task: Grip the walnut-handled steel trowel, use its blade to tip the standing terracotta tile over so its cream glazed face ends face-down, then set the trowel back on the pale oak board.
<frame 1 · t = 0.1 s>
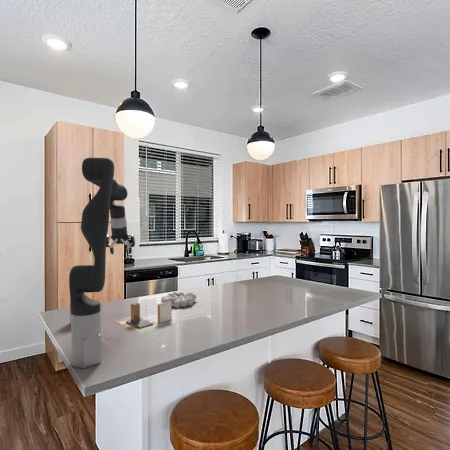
hand: (121, 253, 164), 31 cm above the worktop, tool tilted 20°, fingers open, 8 cm apart
trowel: (135, 322, 149), point 1 cm above the worktop, touching board
board: (136, 323, 148), on the worktop
campfire: (179, 304, 185), on the worktop
tile: (164, 321, 151), on the worktop
soda can: (78, 322, 150), on the worktop
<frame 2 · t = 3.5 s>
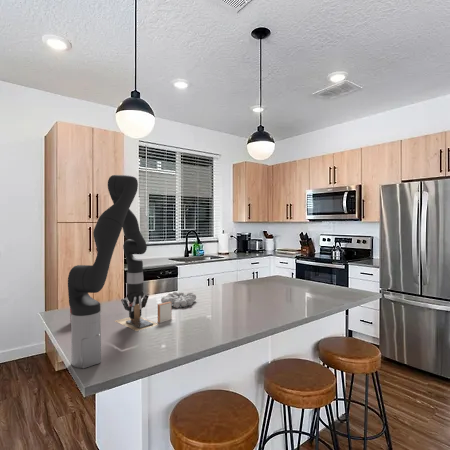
hand: (135, 317, 149), 3 cm above the worktop, tool pointing down, fingers closed on trowel, 3 cm apart
trowel: (135, 322, 149), point 1 cm above the worktop, touching board, gripper
everything else where it was.
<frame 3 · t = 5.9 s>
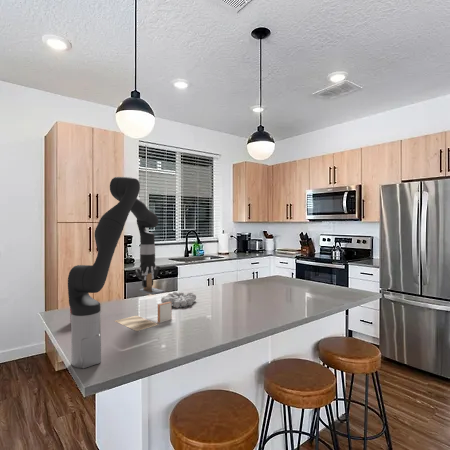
hand: (147, 286, 161), 15 cm above the worktop, tool pointing down, fingers closed on trowel, 3 cm apart
trowel: (147, 290, 161), point 13 cm above the worktop, touching gripper
everything else where it was.
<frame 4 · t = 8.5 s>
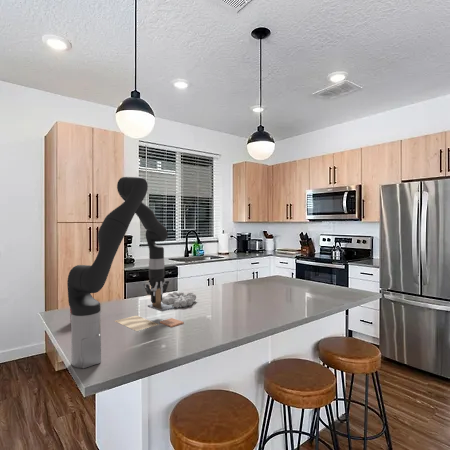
hand: (156, 302, 155), 8 cm above the worktop, tool pointing down, fingers closed on trowel, 3 cm apart
trowel: (156, 306, 155), point 6 cm above the worktop, touching gripper
tile: (165, 321, 151), on the worktop, tilted 90°
everything else where it was.
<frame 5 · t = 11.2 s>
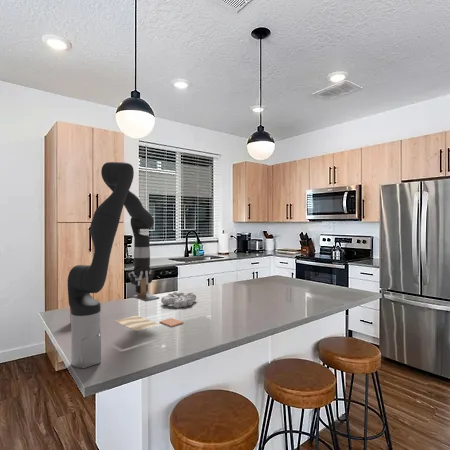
hand: (141, 292, 149), 14 cm above the worktop, tool pointing down, fingers closed on trowel, 3 cm apart
trowel: (141, 296, 149), point 12 cm above the worktop, touching gripper
everything else where it was.
when the fingers open (4 cm above the worktop, at t = 13.8 s): trowel drops 1 cm, resting on board.
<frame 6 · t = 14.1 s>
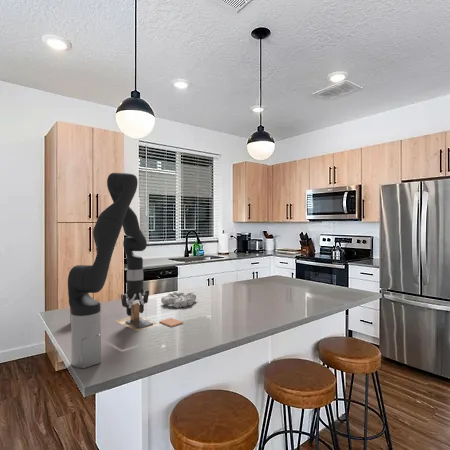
hand: (135, 313, 149), 4 cm above the worktop, tool pointing down, fingers open, 5 cm apart
trowel: (134, 322, 149), point 1 cm above the worktop, touching board
everything else where it was.
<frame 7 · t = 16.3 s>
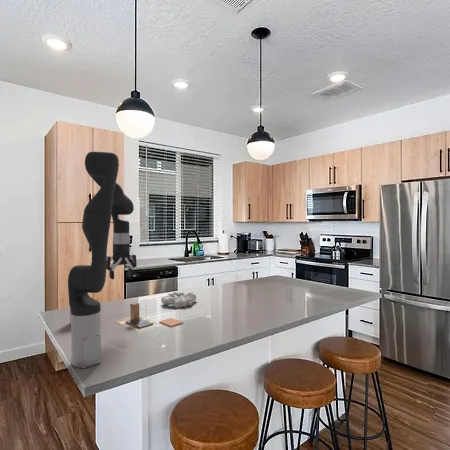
hand: (121, 278, 145), 22 cm above the worktop, tool pointing down, fingers open, 8 cm apart
nothing on the worktop moved.
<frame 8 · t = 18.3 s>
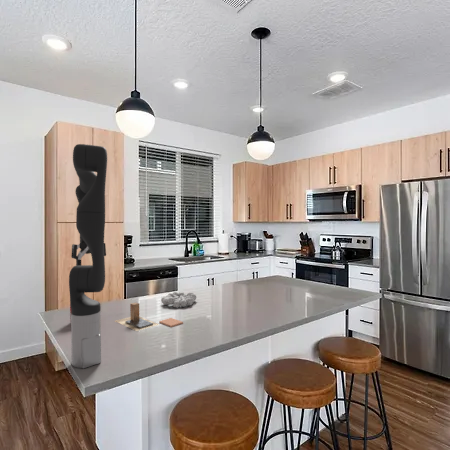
hand: (89, 267, 139), 28 cm above the worktop, tool pointing down, fingers open, 8 cm apart
nothing on the worktop moved.
at the end: tile tilted 90°; trowel inside the target area (0.2 cm from its centre), point 0.6 cm above the worktop; the gripper is holding nothing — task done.
